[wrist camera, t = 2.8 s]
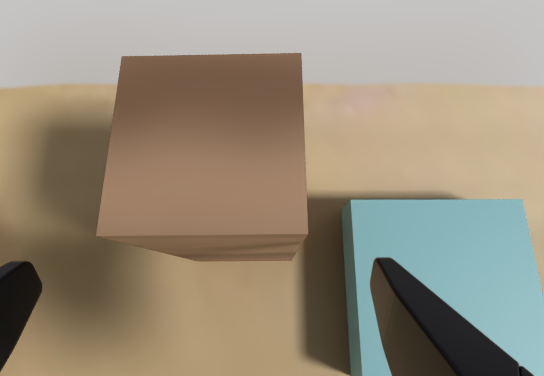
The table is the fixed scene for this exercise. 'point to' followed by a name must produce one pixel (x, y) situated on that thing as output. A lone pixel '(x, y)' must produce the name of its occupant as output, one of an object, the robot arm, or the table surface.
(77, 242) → the table surface
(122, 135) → the walnut block
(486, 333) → the base brick
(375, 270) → the robot arm
